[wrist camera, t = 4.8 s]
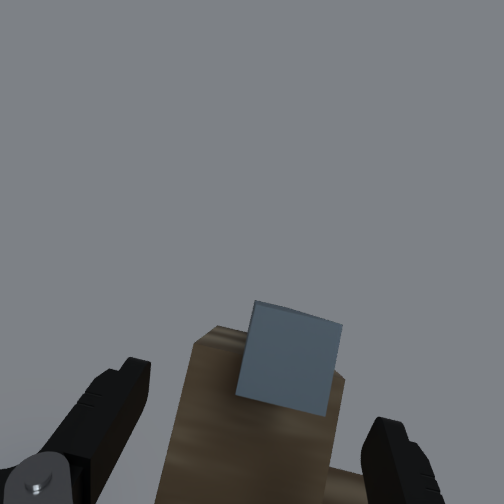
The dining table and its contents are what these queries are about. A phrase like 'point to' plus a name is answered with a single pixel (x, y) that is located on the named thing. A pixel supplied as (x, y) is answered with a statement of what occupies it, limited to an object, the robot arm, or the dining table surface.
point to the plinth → (249, 440)
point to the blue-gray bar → (289, 358)
